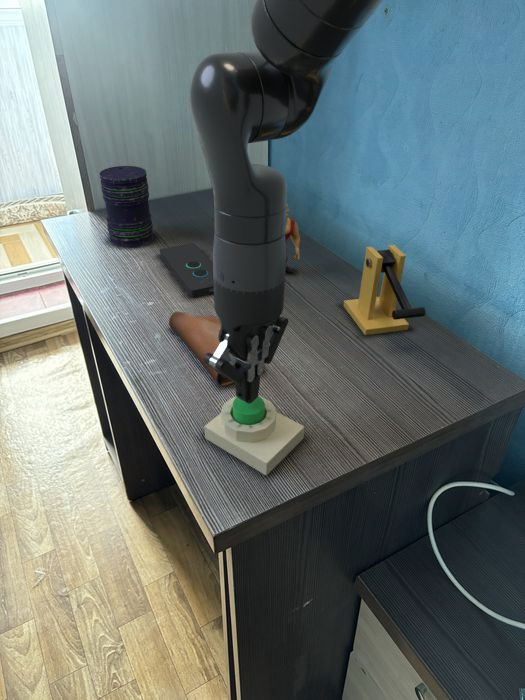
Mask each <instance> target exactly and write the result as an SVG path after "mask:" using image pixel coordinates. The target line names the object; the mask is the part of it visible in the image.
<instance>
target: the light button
mask: <svg viewBox="0 0 525 700" xmlns="http://www.w3.org/2000/svg"><path fill="white" fill-rule="evenodd" d="M259 396H260V395H258V398H257V399H255V400H254V401H253V402H252V403H250V404H248V403H246V402H244V401H243V400H241V399H239V398H238V397H237V396H236V397H237V398H236V399H235V400H234V401H233V417H234V419H235V420H236V421H237V422H239V423H241V424H244V425H253V424H257V423H259V422H260V421H261V420H262V419H263V418H264V412H265V403H264V401H263V399H262V398H261V397H262V396H261V397H259Z"/></svg>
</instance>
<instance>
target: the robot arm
mask: <svg viewBox="0 0 525 700" xmlns="http://www.w3.org/2000/svg"><path fill="white" fill-rule="evenodd" d="M383 1H384V0H255V2H254V4H253V8H252V11H251V15H250V32H251V36H252V40H253V43H254V45H255V47H256V48H257V50H255V51H238V52H236V51H230V52H217V53H213V54H209V55H208V56H206V57H204V58H203V59H202V60H201V61H200V62H199V64H198V65H197V66H196V68H195V70H194V72H193V75H192V77H191V81H190V86H189V92H188V93H189V99H188V101H189V102H188V103H189V109H190V114H191V118H192V121H193V125H194V128H195V132H196V135H197V138H198V141H199V144H200V147H201V151H202V154H203V157H204V161H205V165H206V170H207V172H208V176H209V180H210V184H211V188H212V193H213V194H212V195H213V225H214V228H213V229H214V232H213V233H214V235H213V243H212V244H213V245H212V263H213V280H214V293H213V302H214V305H213V307H214V311H215V313H216V316H217V317H218V320H219V321H220V322H221V329H220V332H219V336H218V339H219V342H220V345H219V346H218V348H217V350H216V351H215V353H214V355H213V354H211V353H207V354H206V355H205V357H204V362H205V363H206V364H207V365H209V366H210V367H211V368H212V369H214V370H215V371H216V372H218V373H219V374H220V375H222V376H223V377H225V378H227V379H229V380H230V381H232V382H234V383H233V384H235V397H238V398H239V399H241V400H243V401H244V402H246V403H248V404H250V403H252V402H253V401H254V400H255V399H257V398H258V396H259V393H260V392H259V391H260V383H261V381H260V380H261V375H262V374H263V372H264V369H265V365H266V364H267V365H270V364H271V363H272V361H273V359H274V356H275V354H276V352H277V350H278V347H279V346H280V342H281V341H282V338H283V336H284V333H285V331H286V329H287V326H288V324H289V319H288V317H285V316H283V315H282V314H283V311H284V306H285V305H284V304H285V288H286V287H285V286H286V267H287V262H286V248H287V243H286V242H285V226H286V207H287V206H286V205H287V204H288V185H287V180H286V178H285V176H284V174H283V173H282V172H281V171H280V170H278V169H276V168H274V167H272V166H269V165H266V164H265V165H264V164H258V163H252V162H251V159H250V156H249V151H248V147H249V144H254V143H261V142H266V141H268V142H269V141H274V140H280V139H284V138H286V137H289V136H292V135H293V134H294V133H296V132H298V131H299V130H300V129H301V128H302V127H303V126H304V125H306V123H308V121H309V120H310V119H311V117H312V116H313V114H314V112H315V110H316V108H317V106H318V103H319V101H320V98H321V96H322V93H323V91H324V90H325V87H326V85H327V83H328V80H329V78H330V75H331V72H332V69H333V67H334V64H335V62H336V60H338V58H339V56H341V55H342V53H343V52H344V51H345V49H346V48H347V47H348V45H350V43H351V42H352V40H354V38H355V37H356V35H358V33H359V32H360V31H361V29H362V28H363V27H364V26H365V25H366V23H367V22H368V21H369V20H370V18H371V17H372V15H373V14H374V13H375V12H376V10H378V8H379V6H380V5H381V3H382V2H383Z"/></svg>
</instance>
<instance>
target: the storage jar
mask: <svg viewBox="0 0 525 700" xmlns="http://www.w3.org/2000/svg"><path fill="white" fill-rule="evenodd" d="M147 175H148V174H147V170H146V169H145V168H142V167H140V166H133V165H119V166H118V165H117V166H111V167H107V168H104V169H102V170H101V171H100V172H99V178H100V189H101V193H102V198H103V201H104V204H105V210H106V226H107V232H108V235H109V241H110V244H111V245H113V246H115V247H118V248H123V249H134V248H140V247H144V246H147V245H149V244H150V243H152V242H153V241H154V234H153V231H154V230H153V228H154V227H153V226H154V225H153V221H152V214H151V212H150V204H149V203H150V202H149V198H150V192H149V189H150V188H149V182H148V178H147Z"/></svg>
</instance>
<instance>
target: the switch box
mask: <svg viewBox="0 0 525 700" xmlns="http://www.w3.org/2000/svg"><path fill="white" fill-rule="evenodd" d="M258 396H259V397H261V398H262V399H263V401H264V403H265V412H264V418H263V419H262V420H261V421H260V422H259V423H257V424H253V425H244V424H241V423H239V422H237V421H236V420H235V419H234V417H233V401H234V400H235V399H236V398H237V396H233V397H232V398H230V399H228V401H226V402H225V403H223V404H222V407H221V411H220V413H219V414H218V415H217V416H215V417H214V418H213V419H211V420H210V421H208V422H207V424H205V425H204V438H205V440H207V441H209V442H210V443H212V444H213V445H215V446H217V447H219V448H220V449H222V450H223V451H225V452H227V453H228V454H230V455H232V456H233V457H235V458H237V459H238V460H240V461H241V462H243V463H245V465H248V466H250V467H251V468H253V469H255V470H256V471H258V472H259V473H261V474H262V475H264V476H268V475H270V473H271V472H272V471H273V470H274V469H275V468H276V467H277V466H278V465H279V464H280V463H281V462H282V461H283V460H284V459H285V458H286V457H287V456H288V455H289V454H290V453H291V452H292V451H293V450H294V449H295V448H296V447H297V446H298V445H299V444H300V443H301V442H302V441H303V440H304V438H305V437H304V436H305V426H304V425H302V424H301V423H298V422H297V421H295V420H293V419H291V418H289V417H287V416H286V415H284V414H282V413H280V412H278V411H277V408H276V407H275V405H274V404H273V403H272V401H270V400H268V399H267V398H264V397H262V396H261V395H258Z"/></svg>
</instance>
